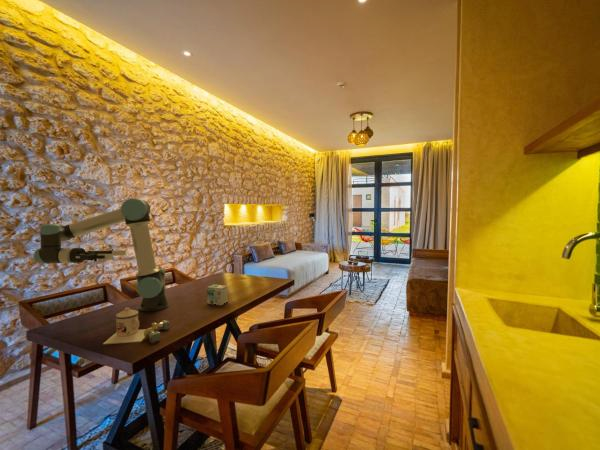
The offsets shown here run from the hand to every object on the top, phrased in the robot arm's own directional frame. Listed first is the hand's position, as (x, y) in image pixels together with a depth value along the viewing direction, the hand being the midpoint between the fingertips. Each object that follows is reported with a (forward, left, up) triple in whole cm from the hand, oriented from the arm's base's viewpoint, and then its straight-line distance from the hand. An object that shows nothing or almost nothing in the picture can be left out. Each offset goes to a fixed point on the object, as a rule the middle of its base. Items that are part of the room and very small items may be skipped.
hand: (119, 254), depth 142 cm
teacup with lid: (+16, +11, -35) cm, 40 cm away
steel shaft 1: (+24, +24, -35) cm, 49 cm away
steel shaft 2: (+14, +24, -35) cm, 44 cm away
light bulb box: (-25, +45, -35) cm, 62 cm away
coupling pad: (+19, +12, -35) cm, 42 cm away
